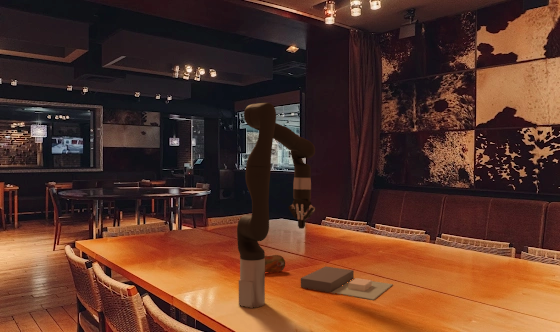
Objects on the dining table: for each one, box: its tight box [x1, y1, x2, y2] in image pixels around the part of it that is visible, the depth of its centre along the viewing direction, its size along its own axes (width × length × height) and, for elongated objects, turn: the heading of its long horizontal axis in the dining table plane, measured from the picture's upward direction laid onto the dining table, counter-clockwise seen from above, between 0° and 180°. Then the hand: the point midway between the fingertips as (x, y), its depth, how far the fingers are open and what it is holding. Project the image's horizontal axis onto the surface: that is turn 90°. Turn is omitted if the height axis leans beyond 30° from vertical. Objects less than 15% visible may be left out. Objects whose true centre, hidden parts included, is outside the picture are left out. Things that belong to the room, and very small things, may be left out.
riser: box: [300, 265, 355, 294], centre depth 188 cm, size 24×14×4 cm, turn 148°
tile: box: [348, 277, 373, 291], centre depth 180 cm, size 9×7×2 cm
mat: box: [331, 277, 394, 301], centre depth 179 cm, size 24×18×1 cm
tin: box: [265, 254, 286, 273], centre depth 206 cm, size 15×3×8 cm, turn 105°
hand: (301, 228), depth 185 cm, fingers closed
